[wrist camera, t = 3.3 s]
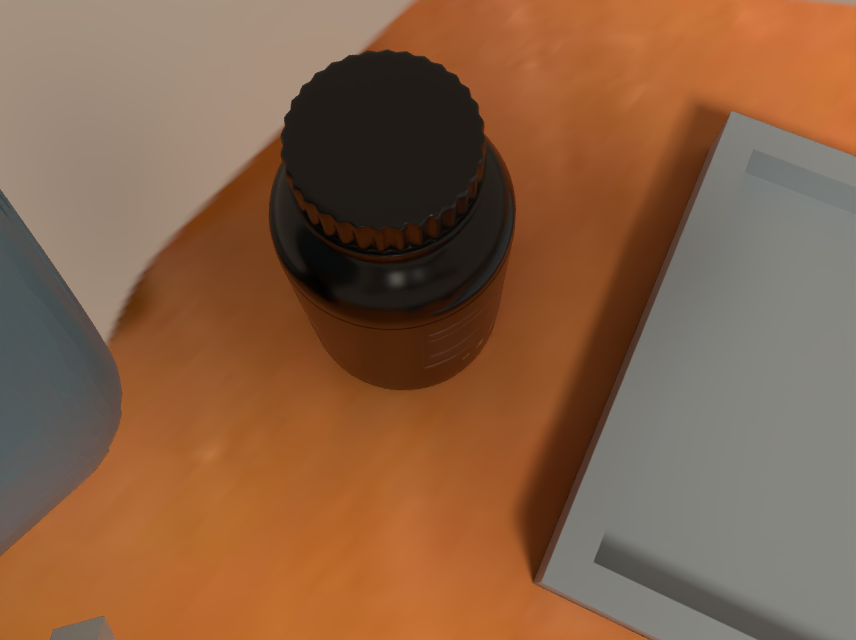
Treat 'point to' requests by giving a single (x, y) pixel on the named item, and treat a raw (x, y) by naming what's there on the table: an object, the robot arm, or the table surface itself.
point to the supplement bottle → (393, 218)
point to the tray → (732, 415)
